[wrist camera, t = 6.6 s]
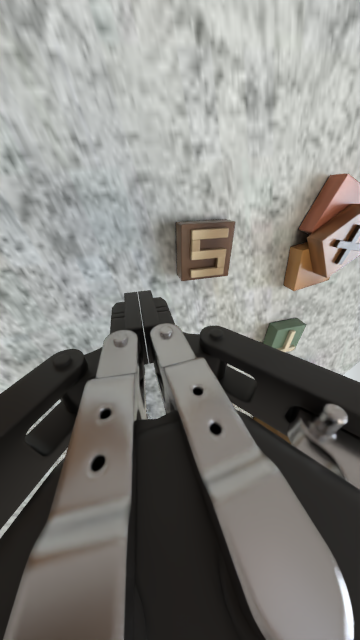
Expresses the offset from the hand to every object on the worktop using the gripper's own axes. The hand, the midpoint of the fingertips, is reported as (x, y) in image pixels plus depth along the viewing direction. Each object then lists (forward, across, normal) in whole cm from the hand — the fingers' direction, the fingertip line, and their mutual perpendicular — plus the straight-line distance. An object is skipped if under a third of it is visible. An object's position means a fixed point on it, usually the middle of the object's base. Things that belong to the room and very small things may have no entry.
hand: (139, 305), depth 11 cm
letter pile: (+12, -25, 0) cm, 28 cm away
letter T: (+12, -25, +17) cm, 33 cm away
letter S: (+12, -8, 0) cm, 14 cm away
